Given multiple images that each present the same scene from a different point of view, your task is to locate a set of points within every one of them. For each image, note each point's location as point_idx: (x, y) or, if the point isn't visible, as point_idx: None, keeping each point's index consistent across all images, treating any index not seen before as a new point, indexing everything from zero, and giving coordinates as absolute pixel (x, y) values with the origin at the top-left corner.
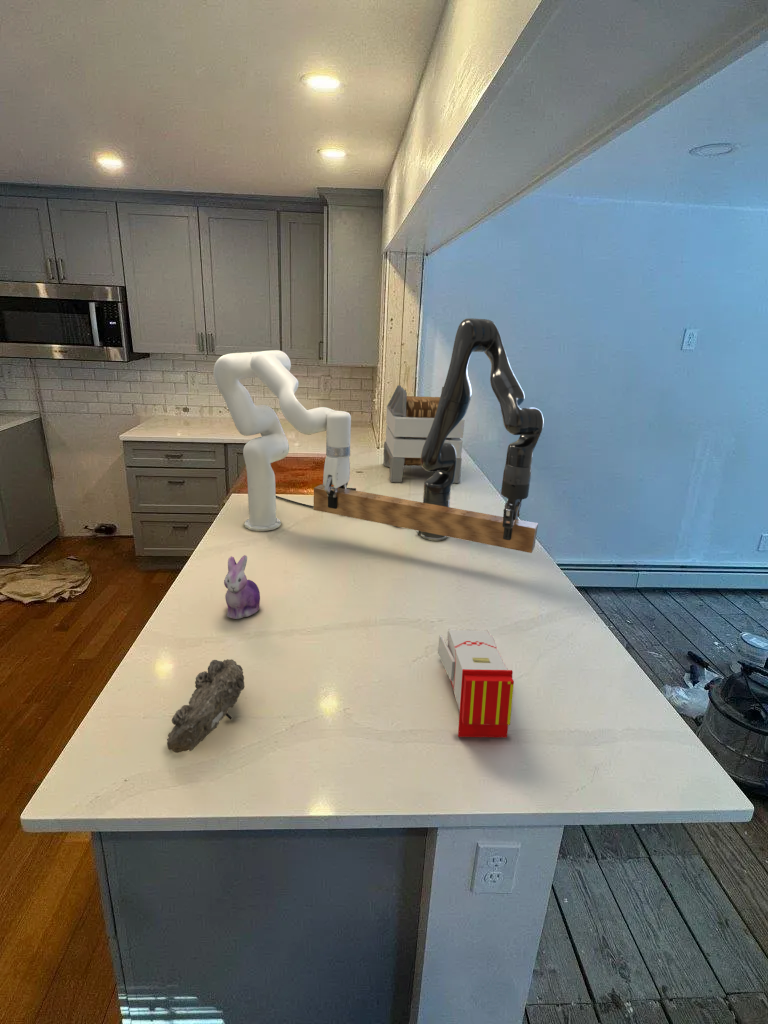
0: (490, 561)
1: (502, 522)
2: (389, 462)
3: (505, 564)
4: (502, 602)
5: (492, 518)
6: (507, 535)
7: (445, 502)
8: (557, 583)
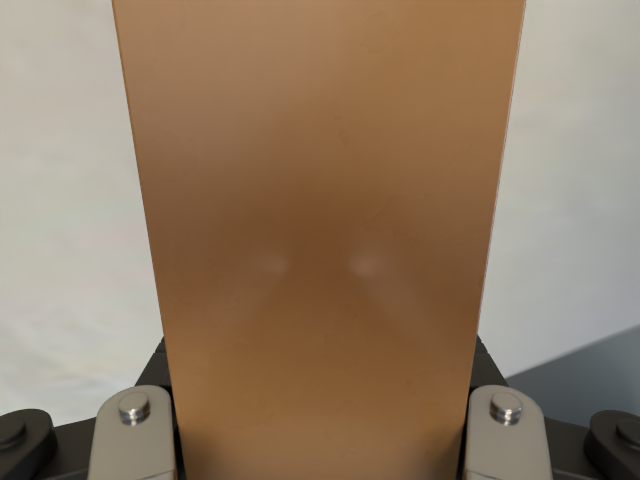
0: (539, 70)
1: (176, 383)
2: None
3: (525, 161)
4: (95, 238)
5: (282, 182)
6: None
7: None
8: None
